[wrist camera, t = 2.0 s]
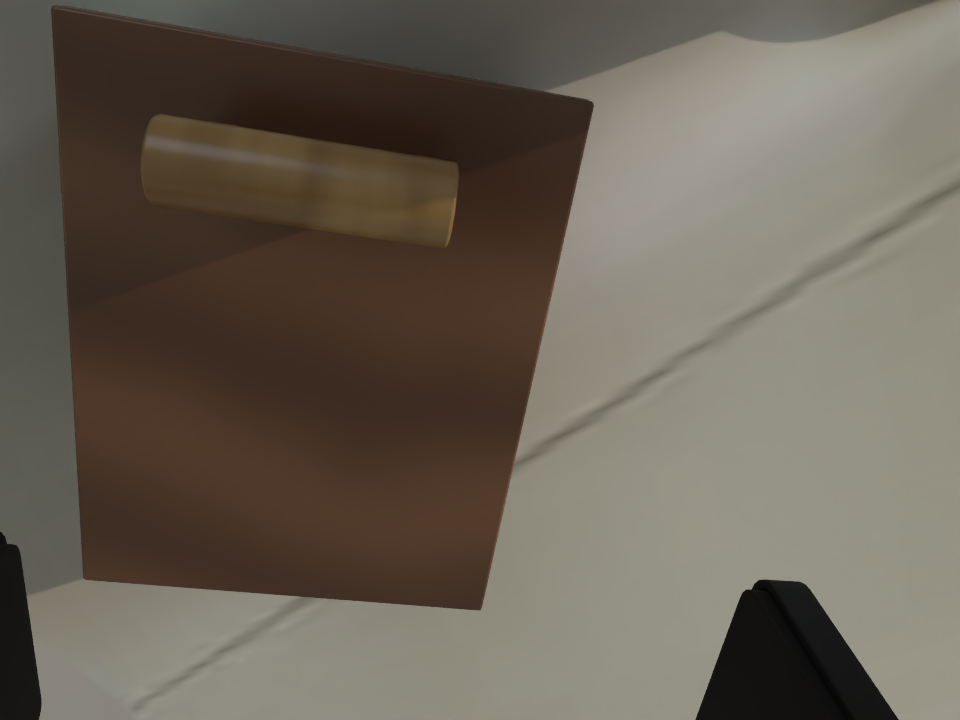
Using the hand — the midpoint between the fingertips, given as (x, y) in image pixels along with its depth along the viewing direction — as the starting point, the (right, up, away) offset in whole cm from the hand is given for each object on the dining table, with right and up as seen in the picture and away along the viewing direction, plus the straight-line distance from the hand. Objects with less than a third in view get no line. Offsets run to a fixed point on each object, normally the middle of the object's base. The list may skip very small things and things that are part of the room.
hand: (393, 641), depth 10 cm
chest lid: (-4, +4, +12) cm, 13 cm away
